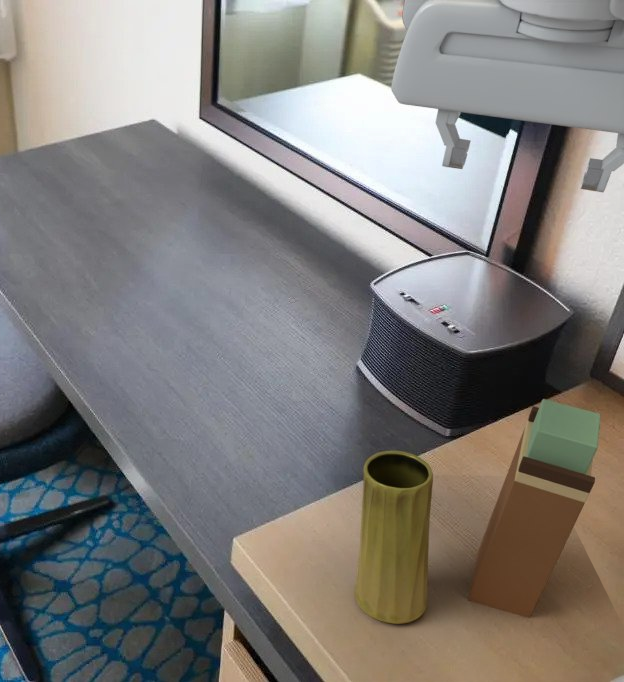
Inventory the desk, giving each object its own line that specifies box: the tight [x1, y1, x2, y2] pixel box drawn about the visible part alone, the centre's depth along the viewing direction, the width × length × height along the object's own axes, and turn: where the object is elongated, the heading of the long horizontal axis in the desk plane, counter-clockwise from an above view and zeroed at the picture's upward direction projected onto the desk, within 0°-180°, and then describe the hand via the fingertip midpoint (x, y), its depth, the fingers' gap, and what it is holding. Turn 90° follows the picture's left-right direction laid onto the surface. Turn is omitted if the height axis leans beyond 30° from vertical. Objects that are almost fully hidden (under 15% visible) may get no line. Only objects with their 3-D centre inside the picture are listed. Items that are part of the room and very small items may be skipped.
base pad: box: [467, 405, 596, 619], centre depth 65 cm, size 7×5×18 cm
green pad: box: [526, 398, 602, 474], centre depth 59 cm, size 4×4×3 cm
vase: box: [353, 450, 434, 625], centre depth 66 cm, size 6×6×14 cm
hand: (520, 176), depth 58 cm, fingers open, 8 cm apart
